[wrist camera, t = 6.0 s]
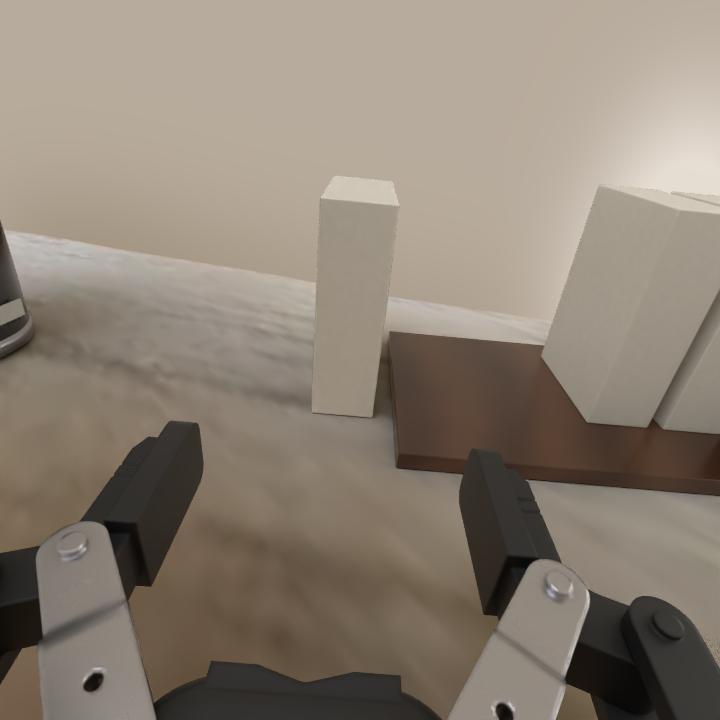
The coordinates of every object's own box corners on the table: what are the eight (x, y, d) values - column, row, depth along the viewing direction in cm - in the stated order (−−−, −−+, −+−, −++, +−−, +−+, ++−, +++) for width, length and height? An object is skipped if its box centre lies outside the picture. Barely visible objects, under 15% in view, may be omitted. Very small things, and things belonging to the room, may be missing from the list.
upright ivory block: (311, 412, 25) (320, 197, 19) (324, 348, 32) (334, 175, 26) (372, 418, 25) (399, 204, 20) (372, 353, 32) (392, 181, 27)
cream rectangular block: (586, 423, 25) (679, 208, 19) (540, 356, 32) (598, 183, 26) (647, 428, 25) (758, 216, 19) (588, 360, 32) (657, 189, 26)
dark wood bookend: (395, 468, 22) (447, 169, 15) (387, 342, 34) (414, 144, 27) (874, 509, 23) (1136, 238, 16) (698, 370, 35) (802, 184, 28)
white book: (662, 429, 25) (778, 218, 19) (600, 362, 32) (671, 191, 26) (723, 435, 25) (856, 226, 20) (647, 366, 32) (729, 197, 26)
